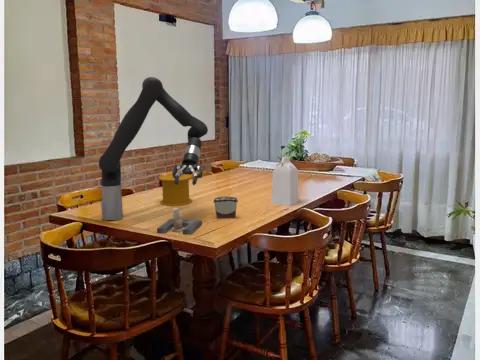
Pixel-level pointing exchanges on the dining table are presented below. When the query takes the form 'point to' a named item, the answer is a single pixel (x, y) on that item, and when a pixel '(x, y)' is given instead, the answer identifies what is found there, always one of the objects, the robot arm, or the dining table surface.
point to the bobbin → (177, 220)
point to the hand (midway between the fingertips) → (184, 184)
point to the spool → (175, 190)
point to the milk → (285, 184)
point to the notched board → (188, 224)
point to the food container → (225, 207)
